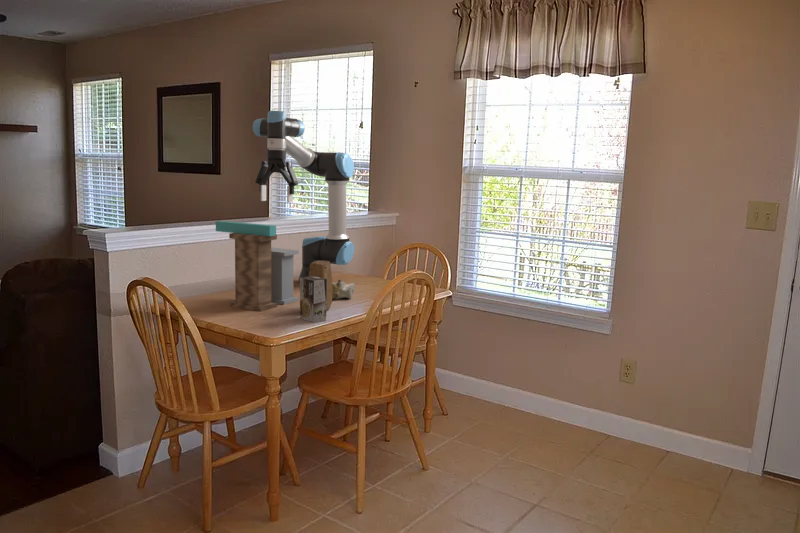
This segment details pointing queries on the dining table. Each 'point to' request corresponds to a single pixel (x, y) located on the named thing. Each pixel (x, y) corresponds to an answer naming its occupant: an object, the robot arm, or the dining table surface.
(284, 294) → the low stand
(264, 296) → the tall stand
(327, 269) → the brown bread chunk
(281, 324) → the dining table surface
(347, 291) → the ceramic sculpture
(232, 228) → the bar
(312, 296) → the coffee box
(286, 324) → the dining table surface
